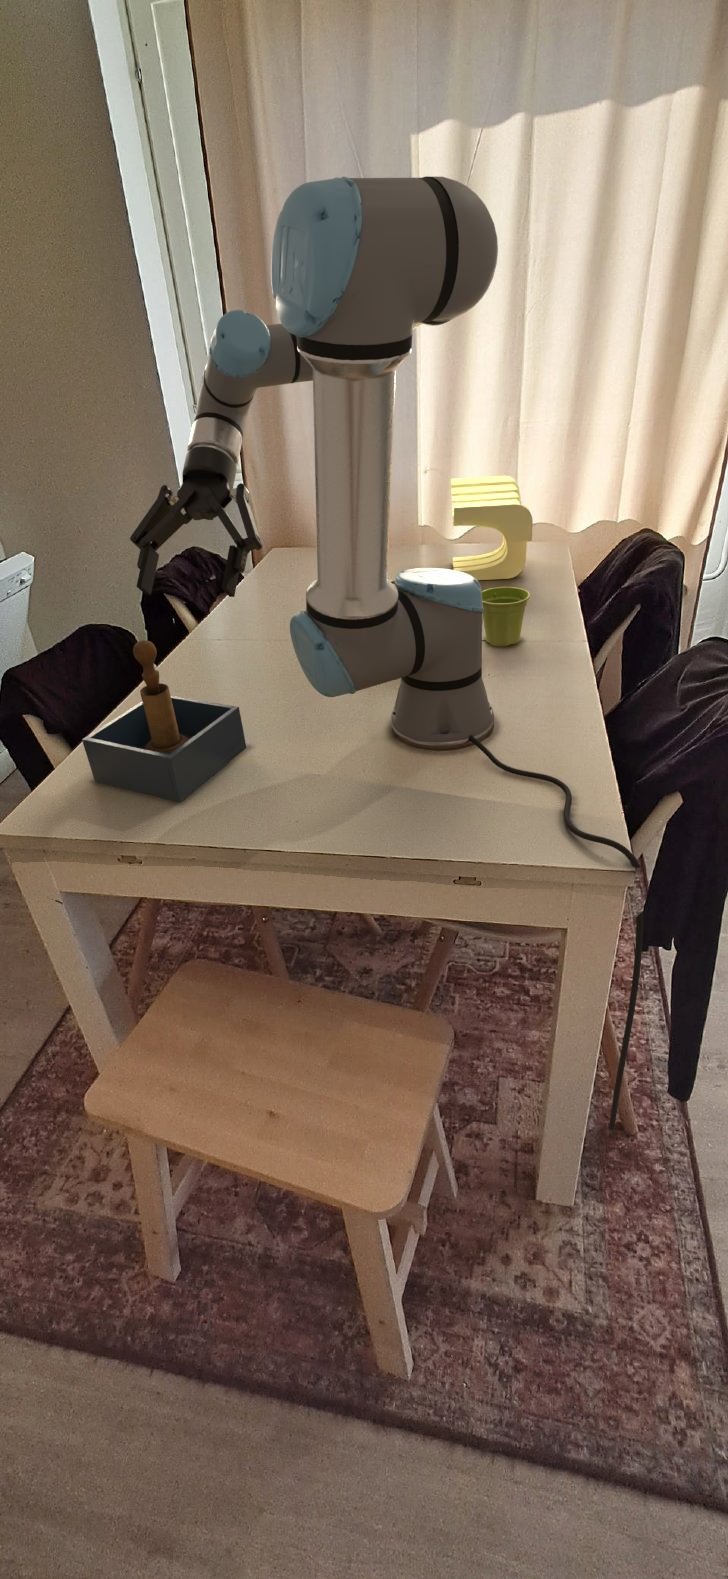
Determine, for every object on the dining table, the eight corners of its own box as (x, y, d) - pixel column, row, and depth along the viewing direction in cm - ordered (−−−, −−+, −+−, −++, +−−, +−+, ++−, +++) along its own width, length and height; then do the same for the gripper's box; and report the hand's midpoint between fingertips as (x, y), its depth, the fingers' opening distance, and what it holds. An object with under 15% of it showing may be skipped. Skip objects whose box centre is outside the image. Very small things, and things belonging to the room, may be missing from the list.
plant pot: (470, 648, 139) (470, 602, 135) (484, 629, 146) (484, 585, 142) (522, 652, 136) (523, 605, 131) (533, 633, 143) (535, 587, 138)
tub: (246, 747, 114) (239, 706, 110) (180, 802, 102) (170, 758, 99) (165, 731, 120) (155, 692, 117) (94, 781, 109) (81, 739, 105)
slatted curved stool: (529, 589, 164) (533, 503, 155) (455, 593, 166) (453, 508, 156) (516, 550, 189) (519, 474, 180) (452, 554, 191) (450, 478, 181)
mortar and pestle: (182, 771, 108) (154, 651, 98) (140, 769, 109) (108, 651, 99) (200, 748, 113) (174, 632, 104) (160, 746, 115) (131, 632, 105)
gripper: (298, 473, 114) (274, 605, 110) (151, 477, 121) (124, 601, 117) (280, 440, 107) (254, 580, 103) (125, 446, 114) (95, 578, 110)
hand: (184, 592), depth 110 cm, fingers open, 13 cm apart
